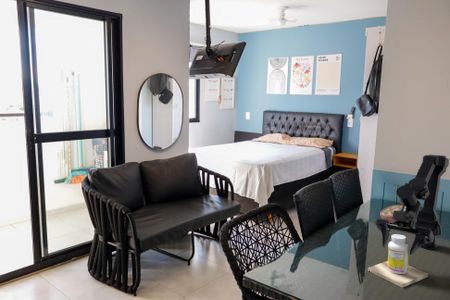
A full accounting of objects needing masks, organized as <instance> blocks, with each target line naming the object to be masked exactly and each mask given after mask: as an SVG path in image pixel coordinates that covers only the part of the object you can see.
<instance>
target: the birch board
mask: <svg viewBox="0 0 450 300" xmlns="http://www.w3.org/2000/svg"><path fill="white" fill-rule="evenodd" d="M369 271H370V273H371V272H372V273H371V274H373V275H376V276H377V277H379V278H382V279H383V280H385V281H388V282H390V283H391V284H393V285H396V286H398V287H400V288H402V289H403V288H406V287H407V286H409V285H412V284H415V283H417V282H419V281H422V280H424V279H426V278H428V277H429V273H428V272H425V271H423V270H420V269H418V268H416V267H413V266H410V265H409V264H408V272H407V273H405V274H396V273H393V272H391V271H389V269H388V260H386V261H383V262H381V263H377V264H375V265H374V264H373V265H372V266H369V267H367V272H369Z"/></svg>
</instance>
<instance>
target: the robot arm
mask: <svg viewBox="0 0 450 300" xmlns="http://www.w3.org/2000/svg"><path fill="white" fill-rule="evenodd" d="M449 164H450V159H449V158H448V157H447V156H446V155H440V154H439V155H438V154H425V155H423V157H422V161H421V164H420V167H419V168H418V170H417V173H416V174H415V176H414V178H412V179H410V180H409V181H408V182H405V183H404V184H403V185H401V186H399V187H398V188H397V189H396V190H395V191H396V192H395V193H396V196H397V198H398V200H399V202H400V205H403V206H402V209H401V210H400V211H395V210H394V212H393V217H392V219H394V222H395V223H392V224H390V223H389V221H388V220H387V219H382V218H381V217H378V218H376V219H375V222H374V224H375V226H376V227H377V230H378V231H380V233H381V240H382V241H381V242H382V248H385V247H386V245H387V244H388V240H389V237H390V234H391V233H390V232H391V231H393V230H394V231H397V232H401V233H406V234H411V235H414V240H413V243H412V245H411V247H410V249H409V250H410V251H409V256H412V255H413V254H414V253H416V251H417V250H419V249H420V247H421V248H424V249H427V250H430V251H431V250H435V249H437V248H439V247H440V245H439V244H437V243H436V242H437V236H441V235H442V225H441V223H440V220H439V219H440V217H439V215H438V213H437V210H436V209H437V202H438V198H439V197H438V196H439V190H440V184H441V183H440V182H441V177H443V175H444V174H445V173H447V168H448V167H449ZM420 201H423V205H422V204H421V202H420ZM421 206H423V207H422V209H421Z"/></svg>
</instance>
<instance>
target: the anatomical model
mask: <svg viewBox="0 0 450 300" xmlns="http://www.w3.org/2000/svg"><path fill="white" fill-rule="evenodd" d="M402 206H403V205H402V204H393V205H389V206H387V207H385V208H383V209H382V210H381V211H380V212H379V213H380V214H379V215H380V218H382V219H387V220H388V221H389V223H392V224H396V223H395V222H394V219H392V217H393V212H394V210H395V211H400V210H401V209H402Z"/></svg>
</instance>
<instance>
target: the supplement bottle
mask: <svg viewBox="0 0 450 300" xmlns="http://www.w3.org/2000/svg"><path fill="white" fill-rule="evenodd" d="M406 241H407V236H406V235H403V234H399V233H394V234H392V235H391V241H389V242H388V243H387V244H388V245H387V261H388V269H389V271H391V272H393V273H396V274H405V273H407V272H408V265H409V257H410V251H409V250H410V247H409V244H408V243H406Z"/></svg>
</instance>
